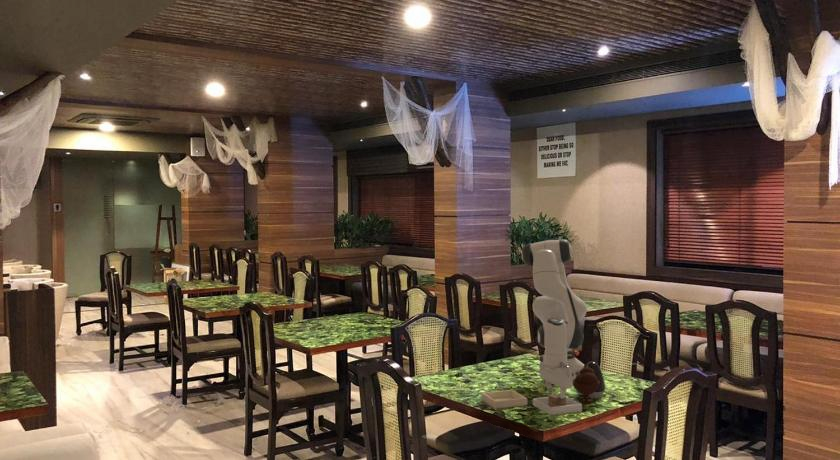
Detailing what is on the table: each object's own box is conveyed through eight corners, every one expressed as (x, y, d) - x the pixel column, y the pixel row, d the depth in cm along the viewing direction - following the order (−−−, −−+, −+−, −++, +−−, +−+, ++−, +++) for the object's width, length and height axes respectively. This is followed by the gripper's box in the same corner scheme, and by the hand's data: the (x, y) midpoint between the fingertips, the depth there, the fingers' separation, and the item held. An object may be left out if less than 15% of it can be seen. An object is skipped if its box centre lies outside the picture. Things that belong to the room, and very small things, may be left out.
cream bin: (512, 397, 288) (512, 389, 288) (527, 406, 275) (527, 398, 275) (481, 401, 284) (481, 392, 284) (495, 410, 271) (495, 401, 270)
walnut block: (559, 405, 273) (559, 393, 273) (565, 409, 269) (565, 396, 268) (548, 407, 272) (548, 394, 272) (554, 410, 267) (554, 397, 267)
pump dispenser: (574, 397, 289) (574, 361, 288) (590, 392, 295) (590, 357, 295) (594, 402, 281) (594, 365, 280) (610, 397, 287) (610, 361, 286)
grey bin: (563, 403, 279) (563, 395, 279) (582, 413, 266) (582, 404, 266) (533, 407, 275) (532, 398, 274) (550, 416, 261) (550, 407, 261)
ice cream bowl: (568, 401, 282) (568, 365, 282) (595, 400, 283) (594, 364, 283) (576, 408, 272) (576, 371, 271) (604, 407, 273) (603, 370, 272)
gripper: (576, 365, 260) (576, 401, 261) (550, 354, 280) (550, 388, 280) (561, 366, 259) (561, 402, 259) (536, 355, 278) (536, 389, 278)
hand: (555, 395), depth 270 cm, fingers open, 8 cm apart
